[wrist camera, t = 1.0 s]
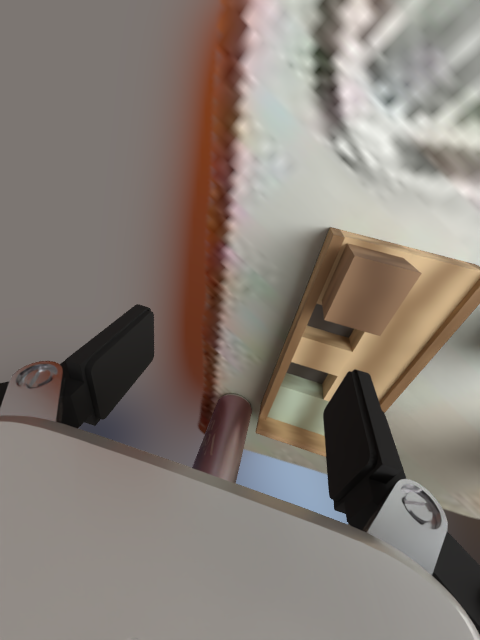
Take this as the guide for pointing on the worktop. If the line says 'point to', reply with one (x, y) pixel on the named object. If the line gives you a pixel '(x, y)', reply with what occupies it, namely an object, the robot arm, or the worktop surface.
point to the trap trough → (362, 340)
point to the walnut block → (367, 289)
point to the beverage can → (225, 438)
